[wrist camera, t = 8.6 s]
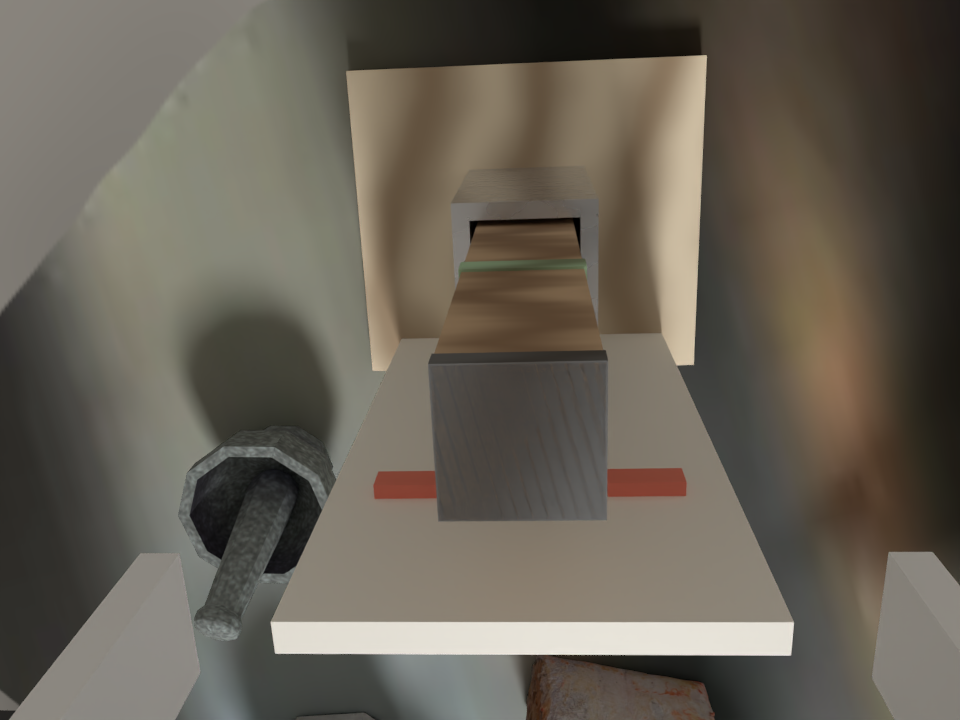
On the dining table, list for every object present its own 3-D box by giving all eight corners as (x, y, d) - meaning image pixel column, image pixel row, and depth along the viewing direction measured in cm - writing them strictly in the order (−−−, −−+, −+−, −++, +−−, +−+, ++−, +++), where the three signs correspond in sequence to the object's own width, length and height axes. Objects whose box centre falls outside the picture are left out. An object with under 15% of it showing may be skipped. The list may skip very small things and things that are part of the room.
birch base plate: (701, 55, 49) (706, 55, 47) (689, 356, 55) (693, 364, 53) (351, 70, 50) (346, 71, 49) (376, 362, 56) (372, 371, 55)
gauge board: (662, 323, 53) (795, 605, 26) (661, 351, 53) (790, 655, 26) (400, 329, 54) (268, 605, 27) (402, 356, 54) (275, 653, 27)
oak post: (571, 201, 44) (610, 358, 21) (571, 289, 46) (608, 522, 23) (480, 204, 44) (425, 362, 22) (484, 291, 46) (436, 523, 23)
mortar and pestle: (235, 381, 57) (161, 462, 46) (371, 423, 58) (331, 513, 46) (203, 523, 61) (128, 630, 50) (331, 561, 61) (286, 675, 50)
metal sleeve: (583, 165, 50) (598, 198, 38) (584, 277, 52) (598, 340, 41) (469, 169, 50) (450, 203, 39) (474, 280, 52) (458, 342, 41)
